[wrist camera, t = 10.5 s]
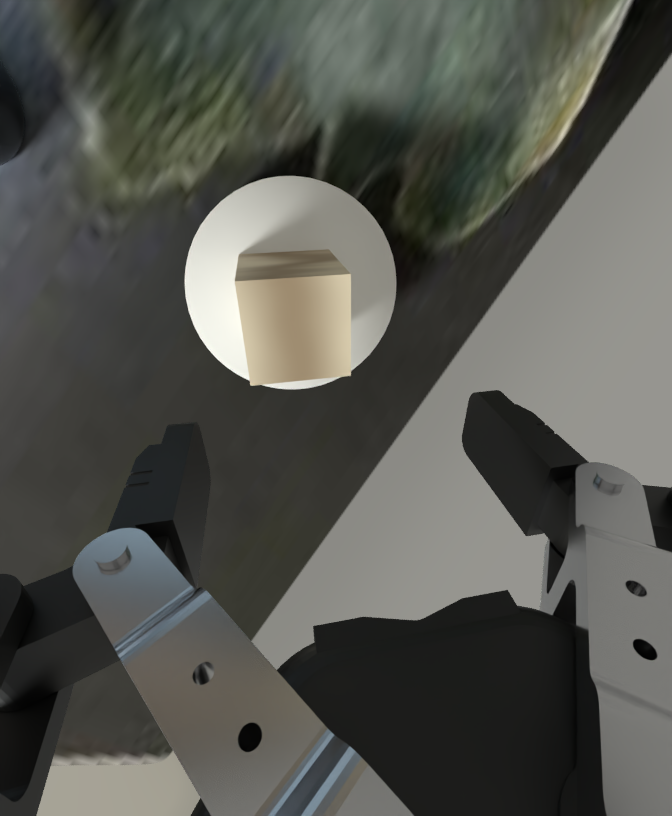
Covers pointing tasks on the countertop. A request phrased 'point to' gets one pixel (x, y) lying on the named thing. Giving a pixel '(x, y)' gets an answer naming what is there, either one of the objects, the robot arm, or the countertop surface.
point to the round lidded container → (283, 232)
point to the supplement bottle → (10, 117)
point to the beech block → (294, 315)
